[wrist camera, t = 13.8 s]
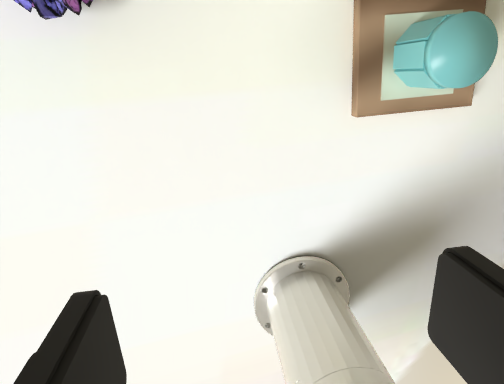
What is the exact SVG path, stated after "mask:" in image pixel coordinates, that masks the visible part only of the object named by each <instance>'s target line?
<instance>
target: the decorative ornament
mask: <svg viewBox="0 0 504 384" xmlns="http://www.w3.org/2000/svg"><path fill="white" fill-rule="evenodd" d="M14 1H15V2H17V3H18V4H19V5H21V6H22V7H24V8H25V9H26V10H28V11H29V12H31V10H32V7H33V8H35V9H36V10H37V12H38V14H39V15H40V17H42V18H44V19H51V18H57V17H62V15H64V13H65V12H66V10H67V8H68V9H69V10H71V11H72V12H74V13H76V14H77V15H79V14H80V12H81V9H82V7H81V1H83V2H84V3H85V4H86V5H87V6H88V7H90V5H91V3H92V1H93V0H14Z"/></svg>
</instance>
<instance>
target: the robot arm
mask: <svg viewBox="0 0 504 384" xmlns="http://www.w3.org/2000/svg"><path fill="white" fill-rule="evenodd" d="M349 297H350V292H349V286H348V283H347V280H346V278H345V277H344V275H343V274H342V272H341V271H340V270H339V269H338V267H336V266H335V265H334V264H333V263H331V262H329V261H327V260H325V259H322V258H318V257H311V256H303V257H296V258H292V259H288V260H286V261H284V262H282V263H279V264H278V265H276V266H275V267H273V268H272V269H271V270H270V271H269V272H267V273H266V274H265V275H264V277H263V278H262V280H261V281H260V282H259V284H258V286H257V289H256V291H255V295H254V309H255V314H256V317H257V320H258V322H259V323H260V325H261V326H262V328H263V329H264V330H265V331H267V332H268V333H269V334H271V335H272V336H274V340H275V344H276V348H277V352H278V356H279V360H280V364H281V368H282V372H283V376H284V380H285V384H395V383H394V381H393V379H392V378H391V376H390V374H389V373H388V371H387V369H386V368H385V366H384V364H383V363H382V361H381V360H380V358H379V356H378V355H377V353H376V351H375V350H374V348H373V346H372V345H371V343H370V341H369V340H368V338H367V336H366V335H365V333H364V331H363V330H362V328H361V326H360V325H359V323H358V321H357V320H356V318H355V316H354V315H353V313H352V312H351V310H350V308H349V307H348V303H349ZM428 334H429V337H430V339H431V340H432V342H433V343H434V344H435V345H436V347H437V348H438V349H439V350H440V351H441V353H442V354H443V355H444V356H445V357H446V359H447V360H448V361H449V362H450V363H451V364H452V366H453V367H454V368H455V369H456V370H457V372H458V373H459V374H460V375H461V376H462V378H463V379H464V380H465V381H466V382H467V383H468V384H504V269H503V268H501V267H500V266H498V265H496V264H495V263H493V262H492V261H490V260H489V259H487V258H486V257H484V256H483V255H481V254H480V253H478V252H477V251H475V250H474V249H472V248H470V247H468V246H462V247H453V248H447V249H445V250H444V251H443V254H441V255H440V256H439V258H438V263H437V270H436V276H435V283H434V289H433V296H432V303H431V309H430V316H429V322H428ZM14 384H126V369H125V365H124V361H123V357H122V353H121V349H120V345H119V341H118V336H117V332H116V328H115V324H114V320H113V316H112V312H111V308H110V304H109V300H108V297H107V296H106V295H101V294H100V292H99V291H98V290H94V291H85V292H77V293H73V295H72V296H71V297H70V299H69V301H68V302H67V304H66V305H65V307H64V309H63V310H62V312H61V313H60V315H59V317H58V318H57V320H56V321H55V323H54V325H53V326H52V328H51V329H50V331H49V333H48V334H47V336H46V338H45V339H44V341H43V342H42V344H41V346H40V347H39V349H38V350H37V352H36V353H34V354H33V355H32V356H31V357H30V359H29V360H28V361H27V363H26V365H25V366H24V368H23V369H22V371H21V372H20V374H19V376H18V377H17V379H16V380H15V382H14Z"/></svg>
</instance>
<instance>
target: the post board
mask: <svg viewBox="0 0 504 384" xmlns="http://www.w3.org/2000/svg"><path fill="white" fill-rule="evenodd" d="M485 6H486V0H354V25H353V73H352V116H355V117H365V116H375V115H384V114H394V113H404V112H413V111H423V110H433V109H443V108H452V107H462V106H471V105H472V98H473V91H474V84H475V83H474V84H472V85H470V86H467V87H464V88H445V89H433V88H418V87H409V86H406V84H405V83H404V82H403V81H402V80H401V79H400V78H399V77H398V76H397V75H396V74H395V73H394V71H395V70H396V69H393V59H394V46H396V45H397V44H396V42H397V41H398V39H399V38H400V37H401V36H402V35H403V34H404V32H405V31H406V30H407V29H408V28H409V27H410V25H411V24H414V23H416V22H420V21H424V20H428V19H432V18H436V17H440V16H444V15H448V14H459V13H463V12H468V11H475V12H480V13H482V14H484V13H485Z"/></svg>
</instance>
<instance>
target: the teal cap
mask: <svg viewBox="0 0 504 384" xmlns="http://www.w3.org/2000/svg"><path fill="white" fill-rule="evenodd" d="M396 44H397V45H396V46H394V59H393V69H396V70H395V71H394V73H395V74H396V75H397V76H398V77H399V78H400V79H401V80H402V81H403V82H404V83H405V84H406V86H409V87H418V88H433V89H445V88H464V87H467V86H470V85H472V84H474V83H475V82H477V81H478V80H480V79H481V78H482V77H483V76H484V75H485V74H486V72H487V71H488V70H489V68H490V67H491V65H492V63H493V61H494V59H495V56H496V52H497V47H498V36H497V31H496V28H495V26H494V24H493V22H492V21H491V20H490V19H489V18H488V17H487V16H486V15H484V14H482V13H480V12H475V11H468V12H463V13H459V14H448V15H444V16H440V17H436V18H432V19H428V20H424V21H420V22H416V23H414V24H411V25H410V27H409V28H408V29H407V30H406V31H405V32H404V34H403V35H402V36H401V37H400V38H399V39H398V41H397V42H396Z"/></svg>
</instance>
